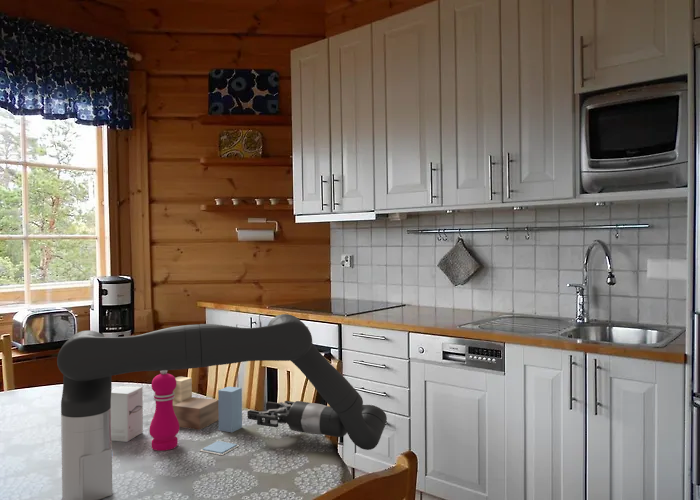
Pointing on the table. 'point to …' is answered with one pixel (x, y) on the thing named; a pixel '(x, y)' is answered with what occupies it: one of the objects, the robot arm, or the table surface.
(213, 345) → the robot arm
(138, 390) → the supplement box
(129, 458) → the table surface
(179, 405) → the walnut block
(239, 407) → the blue pillar
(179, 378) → the oak pillar
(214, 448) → the tile
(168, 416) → the pepper mill
